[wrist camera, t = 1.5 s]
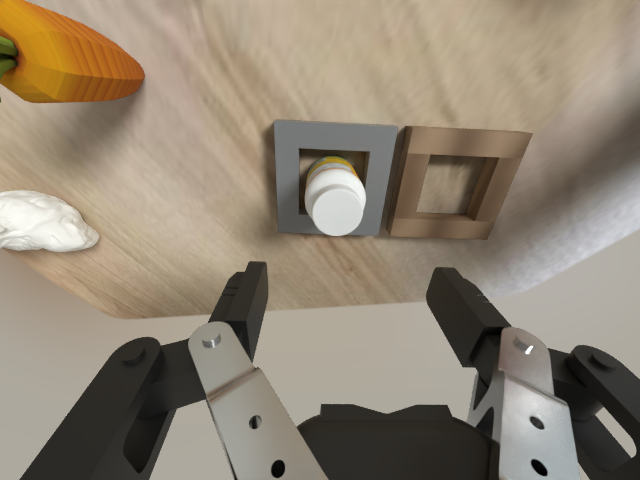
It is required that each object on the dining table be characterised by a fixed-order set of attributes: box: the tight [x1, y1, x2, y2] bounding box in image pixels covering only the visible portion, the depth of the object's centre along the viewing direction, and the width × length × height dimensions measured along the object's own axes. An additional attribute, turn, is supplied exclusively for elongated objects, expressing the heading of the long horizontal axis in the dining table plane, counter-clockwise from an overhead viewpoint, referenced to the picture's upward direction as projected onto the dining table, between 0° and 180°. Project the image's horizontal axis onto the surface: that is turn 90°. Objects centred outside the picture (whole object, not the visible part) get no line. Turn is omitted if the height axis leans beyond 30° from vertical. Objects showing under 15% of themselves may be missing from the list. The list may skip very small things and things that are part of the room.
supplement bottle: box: [305, 156, 366, 236], centre depth 23 cm, size 5×5×10 cm
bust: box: [0, 190, 99, 252], centre depth 25 cm, size 12×8×11 cm
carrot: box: [0, 0, 145, 103], centre depth 16 cm, size 5×5×15 cm
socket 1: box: [274, 120, 398, 236], centre depth 27 cm, size 12×12×2 cm
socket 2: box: [386, 126, 533, 240], centre depth 27 cm, size 12×12×2 cm
